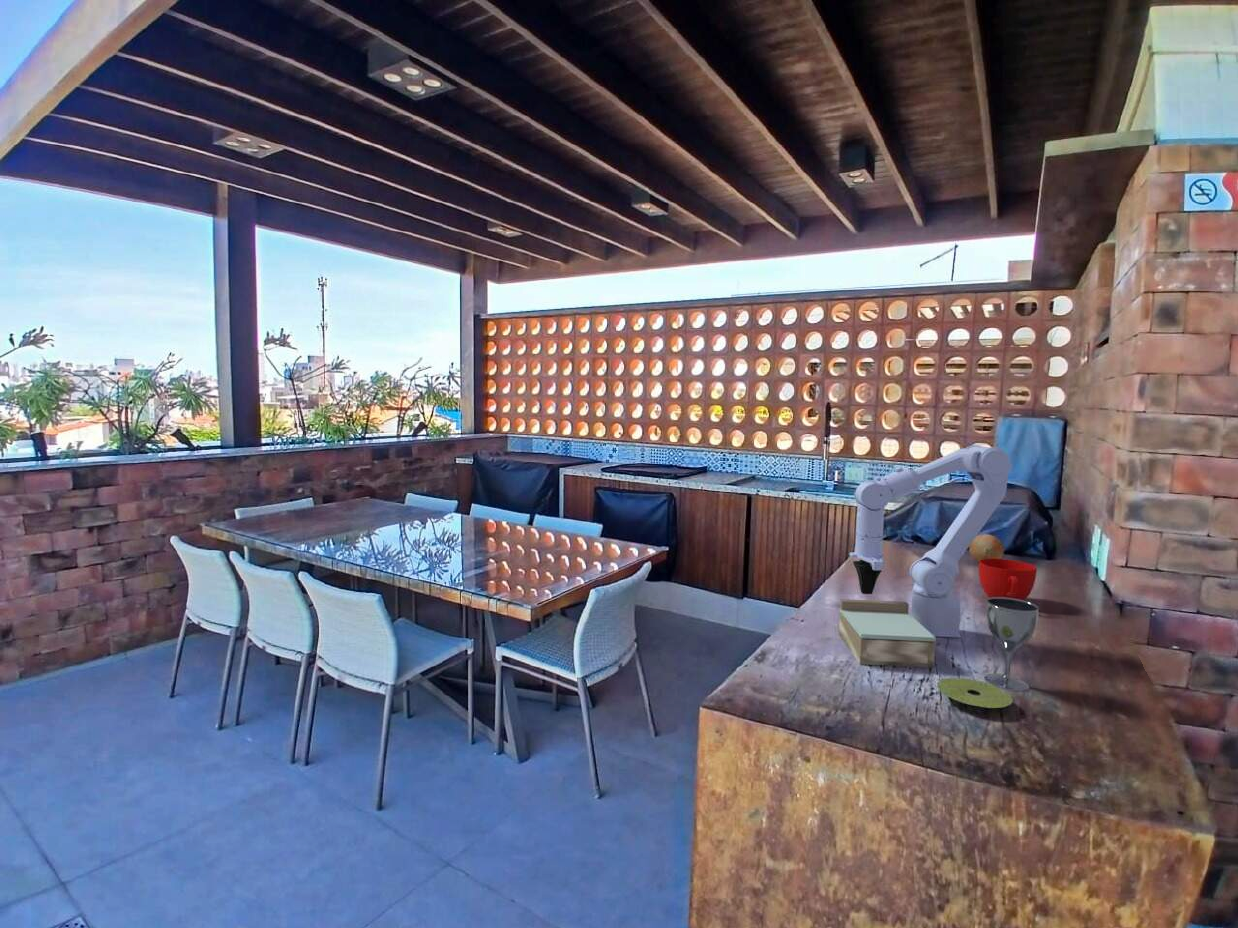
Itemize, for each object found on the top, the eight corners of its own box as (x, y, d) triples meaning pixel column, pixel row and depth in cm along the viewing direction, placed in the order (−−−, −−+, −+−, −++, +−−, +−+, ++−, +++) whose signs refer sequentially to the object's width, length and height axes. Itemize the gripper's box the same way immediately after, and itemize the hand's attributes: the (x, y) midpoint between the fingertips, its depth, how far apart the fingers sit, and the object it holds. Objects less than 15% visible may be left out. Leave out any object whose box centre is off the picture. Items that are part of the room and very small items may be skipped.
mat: (981, 723, 99) (982, 712, 98) (921, 693, 109) (922, 683, 109) (1027, 710, 103) (1027, 699, 103) (965, 683, 113) (966, 672, 113)
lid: (905, 614, 135) (906, 601, 135) (935, 641, 119) (936, 627, 119) (840, 611, 137) (840, 599, 136) (861, 637, 121) (861, 624, 120)
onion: (975, 567, 198) (977, 536, 197) (963, 559, 208) (965, 530, 207) (1008, 568, 197) (1010, 538, 196) (994, 561, 206) (996, 532, 205)
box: (903, 637, 136) (905, 615, 135) (933, 667, 120) (935, 642, 119) (838, 634, 137) (839, 612, 137) (859, 663, 121) (861, 639, 121)
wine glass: (1016, 695, 109) (1022, 613, 107) (972, 677, 116) (977, 600, 114) (1041, 686, 112) (1047, 607, 111) (997, 670, 119) (1003, 594, 118)
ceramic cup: (983, 609, 156) (986, 571, 155) (972, 591, 171) (975, 556, 170) (1043, 616, 151) (1046, 577, 150) (1027, 597, 166) (1030, 561, 166)
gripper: (842, 528, 147) (840, 583, 148) (860, 541, 133) (857, 602, 134) (873, 529, 146) (870, 584, 148) (894, 542, 132) (891, 603, 133)
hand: (866, 593), depth 141 cm, fingers closed
